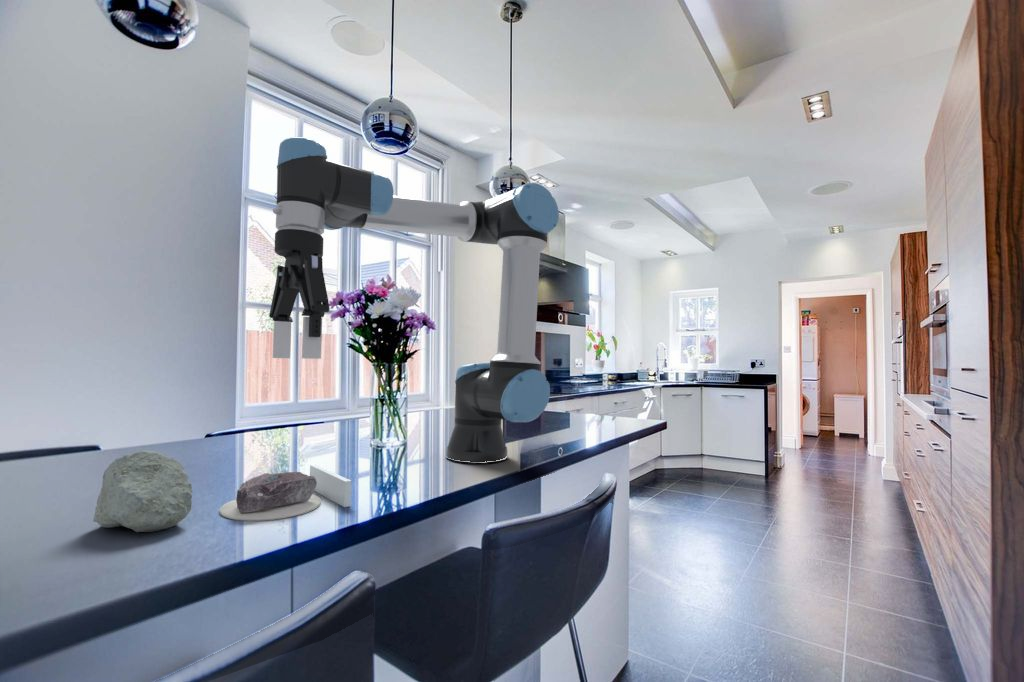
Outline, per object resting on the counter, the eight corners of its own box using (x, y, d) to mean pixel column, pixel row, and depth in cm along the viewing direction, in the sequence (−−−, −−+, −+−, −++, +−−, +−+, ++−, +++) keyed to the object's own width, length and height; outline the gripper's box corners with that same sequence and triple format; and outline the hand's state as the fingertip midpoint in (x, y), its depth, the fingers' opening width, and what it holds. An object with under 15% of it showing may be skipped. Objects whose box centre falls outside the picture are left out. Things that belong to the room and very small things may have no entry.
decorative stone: (92, 516, 67) (70, 468, 62) (180, 478, 75) (167, 432, 69) (123, 584, 61) (101, 537, 56) (215, 534, 69) (204, 489, 63)
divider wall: (314, 486, 87) (315, 464, 87) (350, 506, 76) (351, 480, 76) (309, 487, 86) (310, 465, 87) (344, 507, 75) (345, 481, 76)
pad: (302, 490, 85) (302, 487, 85) (334, 509, 74) (334, 506, 74) (210, 503, 75) (210, 501, 75) (232, 527, 65) (233, 524, 65)
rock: (218, 508, 72) (221, 477, 72) (286, 492, 82) (288, 465, 82) (252, 518, 68) (254, 485, 68) (319, 500, 78) (321, 472, 78)
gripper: (253, 241, 88) (248, 357, 87) (305, 212, 70) (300, 358, 69) (295, 248, 93) (291, 358, 92) (354, 223, 75) (350, 359, 74)
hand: (295, 358), depth 81 cm, fingers open, 13 cm apart
